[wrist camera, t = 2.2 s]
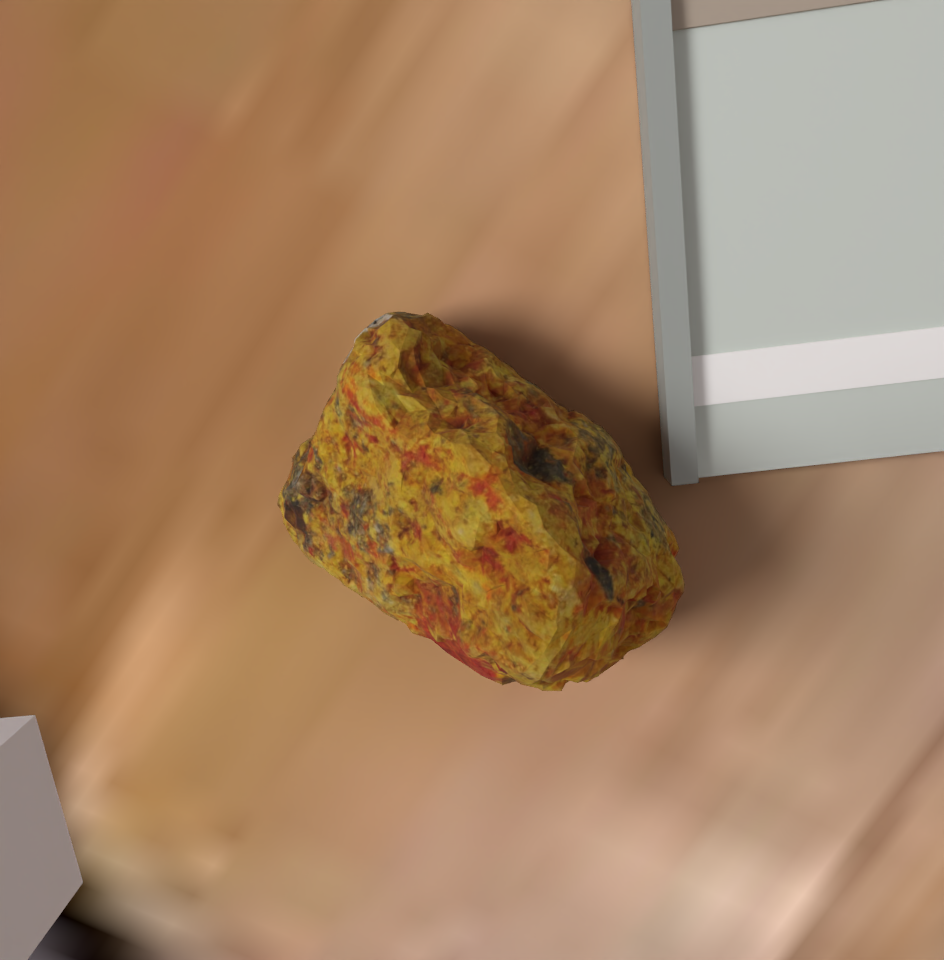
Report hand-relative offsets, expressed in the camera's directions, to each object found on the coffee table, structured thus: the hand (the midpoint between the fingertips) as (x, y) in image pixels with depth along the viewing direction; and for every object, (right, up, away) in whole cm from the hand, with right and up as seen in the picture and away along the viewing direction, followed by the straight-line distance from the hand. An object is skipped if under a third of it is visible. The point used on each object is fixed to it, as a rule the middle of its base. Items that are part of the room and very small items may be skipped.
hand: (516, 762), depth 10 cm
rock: (0, +4, +15) cm, 15 cm away
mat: (+11, +13, +12) cm, 21 cm away
